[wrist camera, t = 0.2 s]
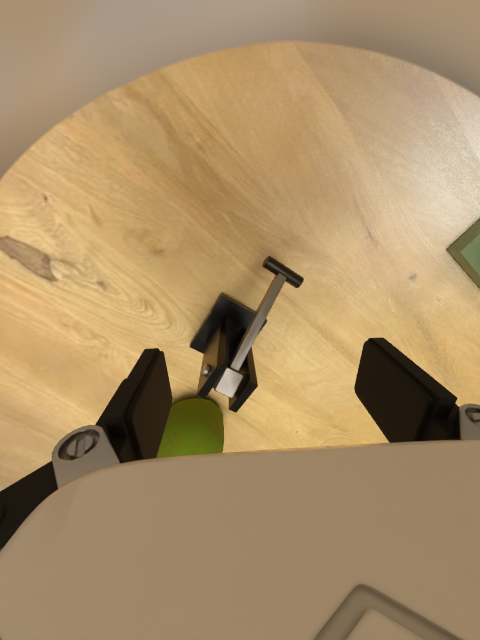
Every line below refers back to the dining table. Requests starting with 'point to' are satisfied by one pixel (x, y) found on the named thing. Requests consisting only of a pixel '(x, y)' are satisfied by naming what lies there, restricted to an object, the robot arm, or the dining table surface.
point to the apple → (192, 429)
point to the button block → (468, 252)
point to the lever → (255, 325)
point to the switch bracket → (225, 348)
